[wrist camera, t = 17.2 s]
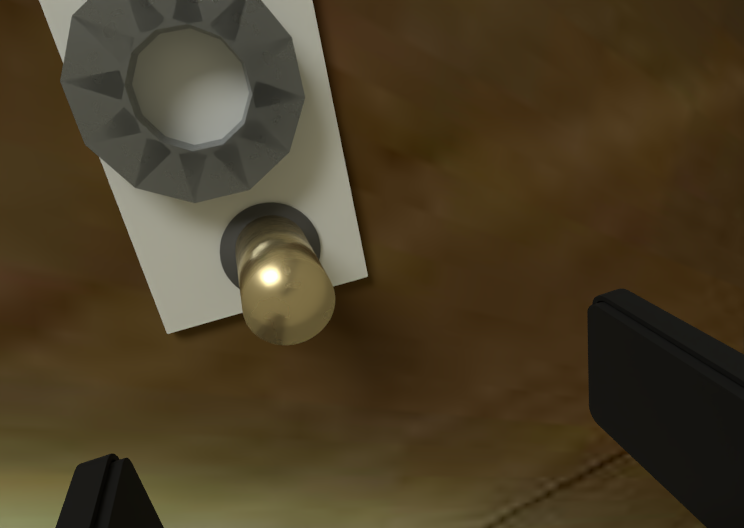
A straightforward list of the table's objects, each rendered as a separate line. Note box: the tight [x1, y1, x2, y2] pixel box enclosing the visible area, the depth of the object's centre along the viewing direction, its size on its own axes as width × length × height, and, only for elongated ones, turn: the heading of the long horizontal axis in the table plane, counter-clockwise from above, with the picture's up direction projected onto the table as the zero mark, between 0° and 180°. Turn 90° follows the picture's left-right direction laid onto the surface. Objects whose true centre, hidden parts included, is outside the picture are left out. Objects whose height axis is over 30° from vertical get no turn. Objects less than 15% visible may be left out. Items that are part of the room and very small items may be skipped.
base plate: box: [39, 0, 368, 334], centre depth 35 cm, size 15×22×1 cm
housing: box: [60, 0, 305, 203], centre depth 31 cm, size 13×13×3 cm
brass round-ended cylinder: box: [235, 215, 335, 345], centre depth 32 cm, size 5×5×10 cm
